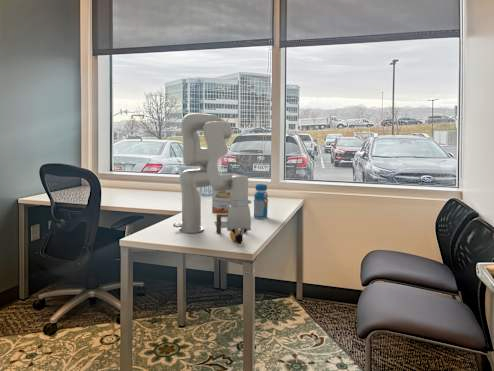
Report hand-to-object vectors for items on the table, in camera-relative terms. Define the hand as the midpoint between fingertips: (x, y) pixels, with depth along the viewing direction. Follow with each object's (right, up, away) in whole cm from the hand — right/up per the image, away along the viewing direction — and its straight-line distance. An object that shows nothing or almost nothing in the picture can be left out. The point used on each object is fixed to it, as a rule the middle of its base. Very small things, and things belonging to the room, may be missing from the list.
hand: (238, 243), depth 174 cm
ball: (-1, +3, +8) cm, 9 cm away
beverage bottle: (+12, +6, +58) cm, 60 cm away
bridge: (-4, +2, +24) cm, 25 cm away
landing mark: (-7, +4, +41) cm, 42 cm away
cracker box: (-11, +9, +72) cm, 74 cm away
